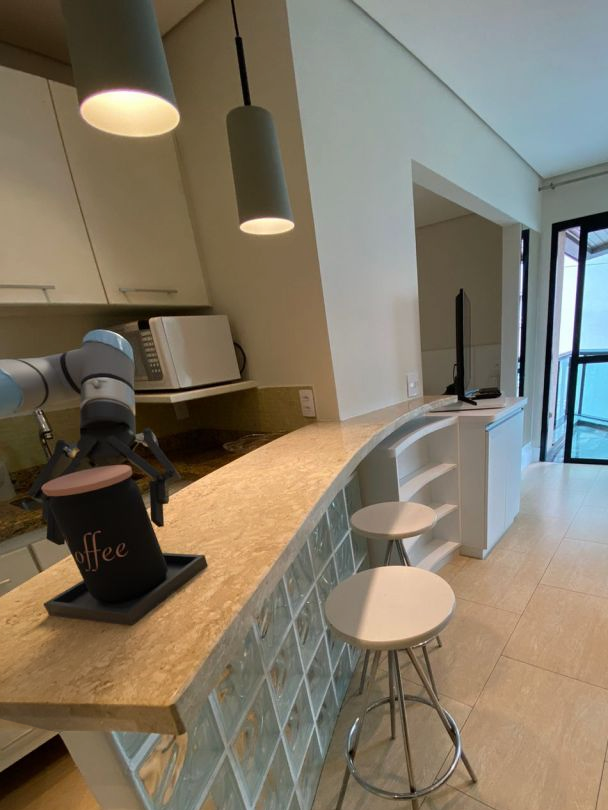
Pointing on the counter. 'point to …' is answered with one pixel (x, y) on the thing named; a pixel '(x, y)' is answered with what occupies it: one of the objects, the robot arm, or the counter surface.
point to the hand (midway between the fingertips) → (107, 532)
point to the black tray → (129, 612)
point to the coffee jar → (108, 532)
